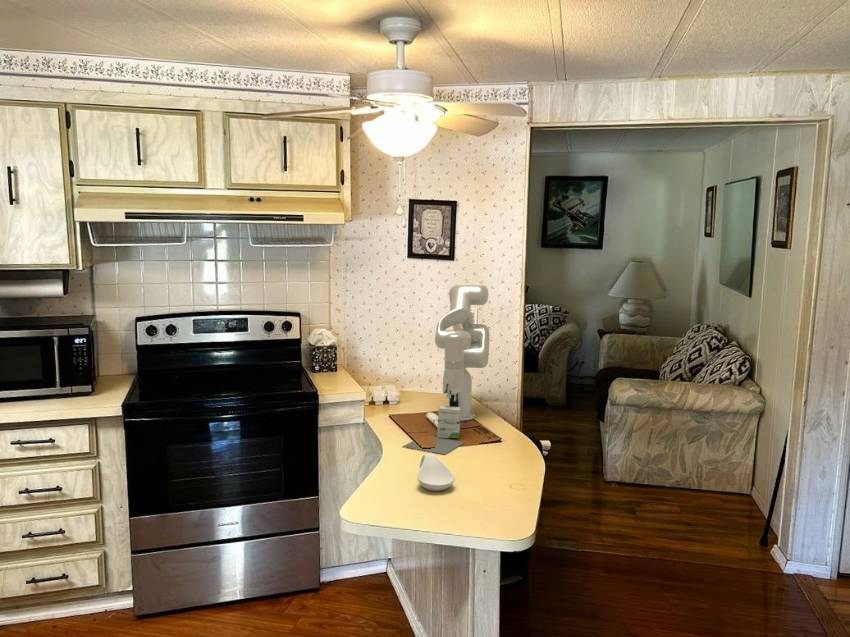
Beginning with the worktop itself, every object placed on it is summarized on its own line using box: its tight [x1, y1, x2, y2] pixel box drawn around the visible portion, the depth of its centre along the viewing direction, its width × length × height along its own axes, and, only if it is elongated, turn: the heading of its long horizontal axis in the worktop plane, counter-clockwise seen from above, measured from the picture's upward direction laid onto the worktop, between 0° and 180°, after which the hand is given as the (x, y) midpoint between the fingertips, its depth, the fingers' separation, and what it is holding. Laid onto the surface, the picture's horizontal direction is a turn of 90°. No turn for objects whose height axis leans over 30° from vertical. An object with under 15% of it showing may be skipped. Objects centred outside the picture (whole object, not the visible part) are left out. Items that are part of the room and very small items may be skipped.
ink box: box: [436, 405, 461, 440], centre depth 269 cm, size 9×5×12 cm, turn 84°
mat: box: [402, 435, 466, 456], centre depth 260 cm, size 16×18×1 cm
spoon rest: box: [417, 453, 456, 492], centre depth 223 cm, size 24×12×7 cm, turn 11°
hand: (453, 410), depth 272 cm, fingers closed
